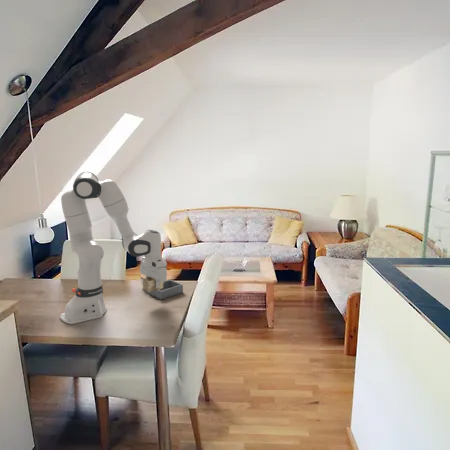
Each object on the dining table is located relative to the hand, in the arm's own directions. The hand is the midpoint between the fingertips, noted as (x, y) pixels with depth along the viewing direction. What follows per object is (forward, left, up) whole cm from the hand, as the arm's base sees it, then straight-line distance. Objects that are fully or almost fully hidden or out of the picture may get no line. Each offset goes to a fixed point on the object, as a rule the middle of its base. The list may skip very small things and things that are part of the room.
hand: (152, 285), depth 213 cm
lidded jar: (+13, +23, -11) cm, 29 cm away
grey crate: (+14, +8, -11) cm, 20 cm away
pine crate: (0, 0, -2) cm, 2 cm away
